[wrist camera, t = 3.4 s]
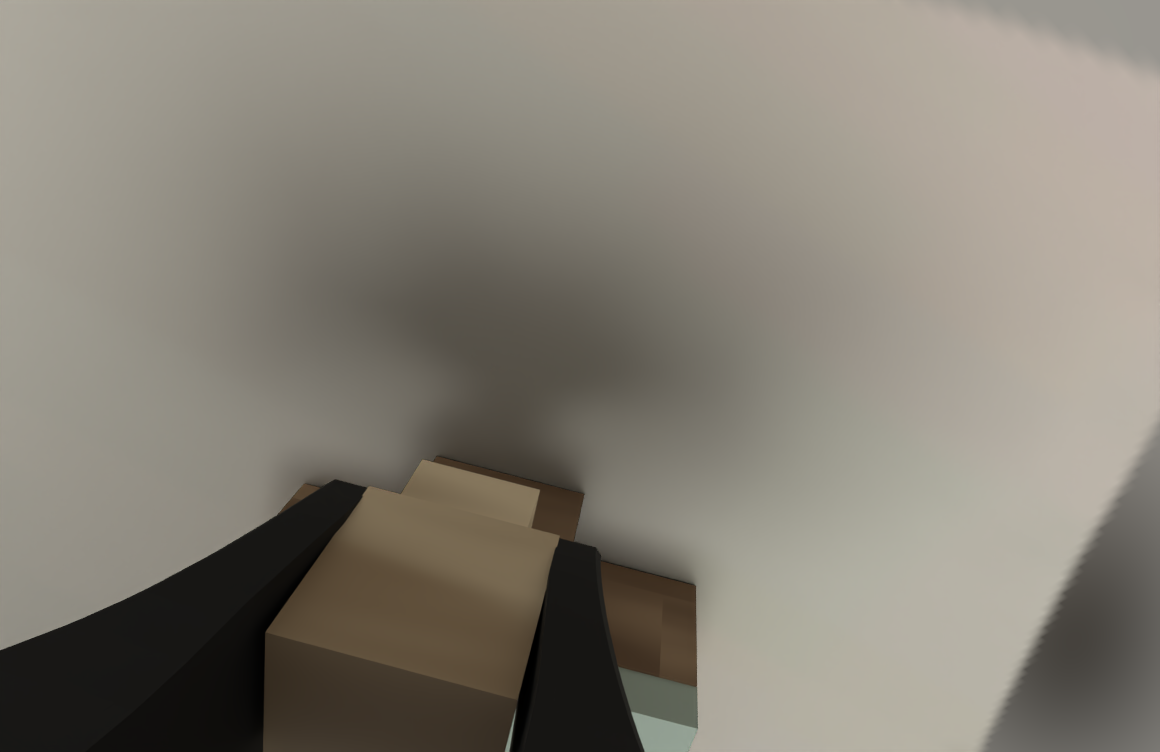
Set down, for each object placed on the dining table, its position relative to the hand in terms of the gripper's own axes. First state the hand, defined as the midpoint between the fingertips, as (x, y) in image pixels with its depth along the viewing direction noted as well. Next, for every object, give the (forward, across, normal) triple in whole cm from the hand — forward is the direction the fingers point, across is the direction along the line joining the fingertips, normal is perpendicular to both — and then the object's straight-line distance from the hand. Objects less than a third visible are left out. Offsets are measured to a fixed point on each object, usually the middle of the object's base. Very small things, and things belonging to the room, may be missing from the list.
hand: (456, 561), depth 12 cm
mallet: (+1, 0, +2) cm, 2 cm away
